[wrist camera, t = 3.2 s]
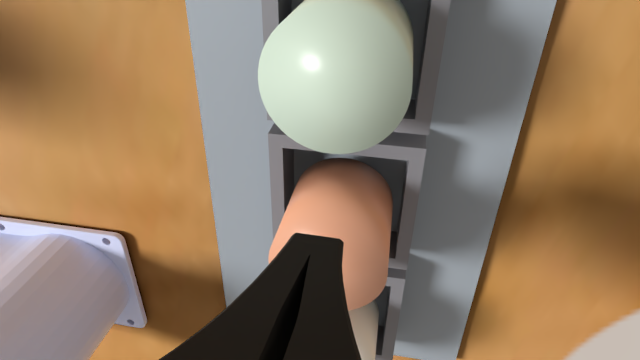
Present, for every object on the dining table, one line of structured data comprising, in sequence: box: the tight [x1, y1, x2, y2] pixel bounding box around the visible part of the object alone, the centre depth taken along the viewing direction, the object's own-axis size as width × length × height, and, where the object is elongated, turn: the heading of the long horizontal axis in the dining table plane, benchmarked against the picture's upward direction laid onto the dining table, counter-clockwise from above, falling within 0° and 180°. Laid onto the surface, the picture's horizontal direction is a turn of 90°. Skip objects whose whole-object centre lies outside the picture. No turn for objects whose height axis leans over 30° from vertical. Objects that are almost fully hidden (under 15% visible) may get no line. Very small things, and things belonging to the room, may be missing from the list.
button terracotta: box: [268, 158, 393, 311], centre depth 18 cm, size 4×4×4 cm
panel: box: [185, 0, 557, 360], centre depth 21 cm, size 14×24×3 cm, turn 179°
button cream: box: [348, 300, 379, 360], centre depth 22 cm, size 4×4×4 cm
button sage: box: [258, 0, 414, 154], centre depth 15 cm, size 4×4×4 cm
